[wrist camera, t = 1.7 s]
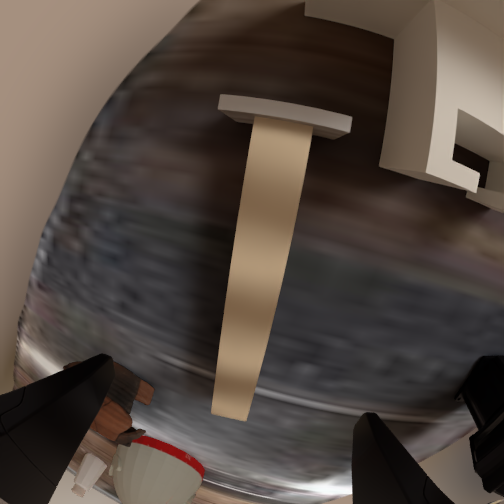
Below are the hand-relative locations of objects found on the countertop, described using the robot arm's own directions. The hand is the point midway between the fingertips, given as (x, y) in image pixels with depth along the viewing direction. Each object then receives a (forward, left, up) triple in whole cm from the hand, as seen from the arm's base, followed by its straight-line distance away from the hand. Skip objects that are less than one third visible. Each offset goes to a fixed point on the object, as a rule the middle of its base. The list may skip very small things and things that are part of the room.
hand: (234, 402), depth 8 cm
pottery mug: (-18, +14, -13) cm, 26 cm away
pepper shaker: (-53, +26, -13) cm, 60 cm away
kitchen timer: (-36, +9, -13) cm, 39 cm away
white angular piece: (+13, -12, -12) cm, 22 cm away
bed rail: (-2, 0, -12) cm, 13 cm away
